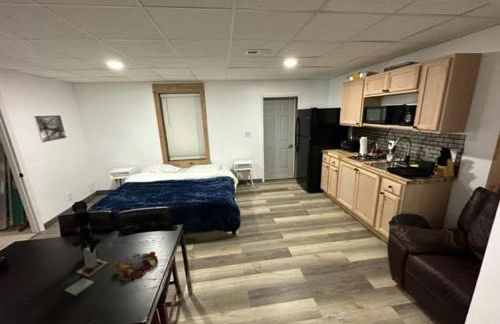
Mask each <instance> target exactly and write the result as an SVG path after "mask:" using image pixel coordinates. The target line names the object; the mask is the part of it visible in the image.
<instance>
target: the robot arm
mask: <svg viewBox="0 0 500 324" xmlns="http://www.w3.org/2000/svg"><path fill="white" fill-rule="evenodd" d="M71 209H72V213H73V215H72V218H73V223H74V226H75V227H77V234H76V235H75V236H74V237H73V238H72V239H71V240H70V241H69V242H68V243H69V245H70V246H71V247H73V248H77V247H79V246H80V250H81V252H84V251H83V249H85V248H87V247H89V249H90V251H91V253H93V251H94V249H96V247H97V246H98V245H99V244H101V240H102V239H101V238H97V237H94V235H92V232H93V230H92V229H91V227H90V223H91V220H92V216H91V213H90V212H89V211H88V209H89V207H88V203H87V202H86V201H84V200H77V201H75V202H73V204H72V205H71ZM97 254H98V252H97V251H96V255H97ZM82 257H83V258H84V255H83V256H82Z"/></svg>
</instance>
